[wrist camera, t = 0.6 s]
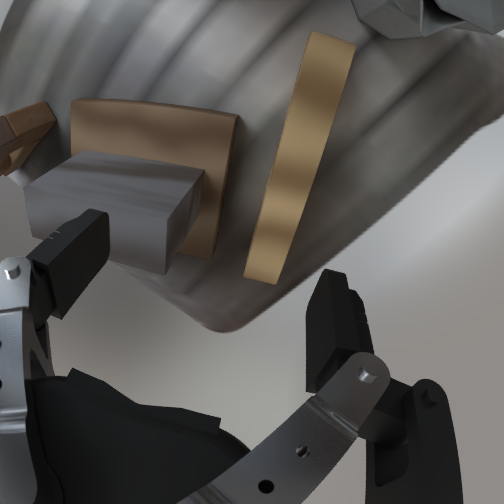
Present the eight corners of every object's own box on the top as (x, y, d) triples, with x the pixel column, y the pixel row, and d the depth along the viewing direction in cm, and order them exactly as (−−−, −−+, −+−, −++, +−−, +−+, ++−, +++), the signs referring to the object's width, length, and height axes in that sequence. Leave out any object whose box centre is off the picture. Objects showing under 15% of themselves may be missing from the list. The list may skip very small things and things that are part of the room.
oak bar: (308, 37, 22) (312, 30, 18) (345, 48, 22) (356, 45, 18) (249, 249, 36) (243, 276, 32) (278, 257, 36) (275, 284, 32)
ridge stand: (81, 98, 26) (3, 126, 17) (238, 115, 27) (205, 146, 17) (85, 219, 36) (31, 275, 26) (214, 250, 36) (186, 326, 26)
